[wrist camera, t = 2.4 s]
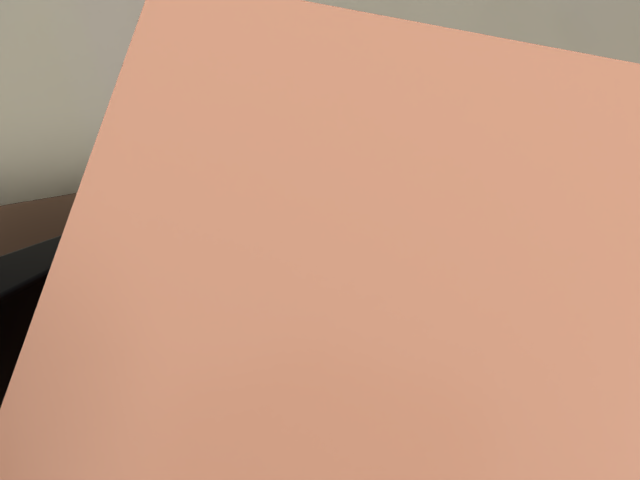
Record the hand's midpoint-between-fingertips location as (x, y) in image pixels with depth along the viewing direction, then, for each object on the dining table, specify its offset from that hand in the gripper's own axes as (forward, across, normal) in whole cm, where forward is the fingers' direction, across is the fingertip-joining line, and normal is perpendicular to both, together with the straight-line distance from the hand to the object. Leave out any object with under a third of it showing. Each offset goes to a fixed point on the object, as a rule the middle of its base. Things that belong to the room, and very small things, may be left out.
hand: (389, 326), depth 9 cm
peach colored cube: (+3, 0, +4) cm, 5 cm away
